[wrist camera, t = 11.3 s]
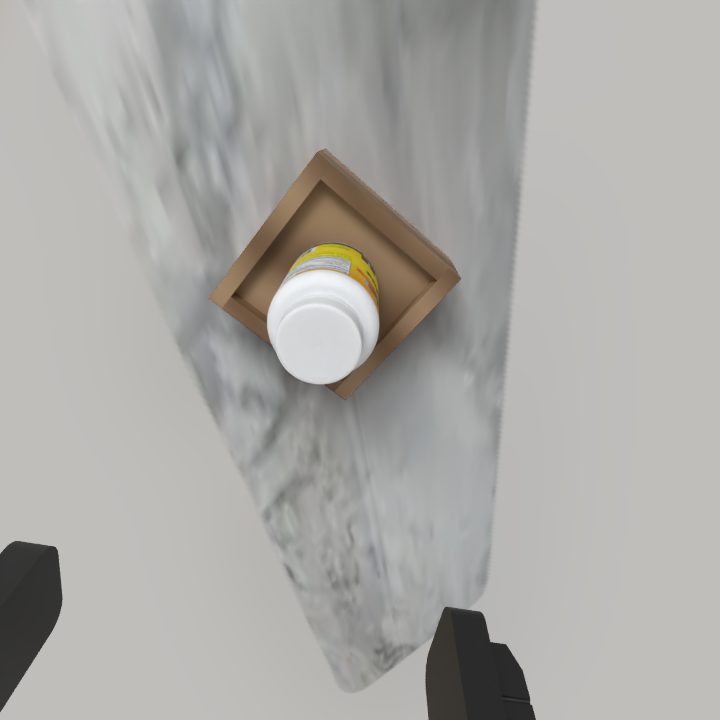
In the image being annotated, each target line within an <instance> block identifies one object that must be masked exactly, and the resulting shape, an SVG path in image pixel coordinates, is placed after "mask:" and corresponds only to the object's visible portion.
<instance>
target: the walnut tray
mask: <svg viewBox="0 0 720 720" xmlns="http://www.w3.org/2000/svg"><path fill="white" fill-rule="evenodd" d="M325 242H339V243H344V244H347V245H350V246H352V247H354V248H356V249H357V250H359V251H360V252H361V253H363V254H364V255H365V256H366V257H367V259H368V260H369V261H370V263H371V264H372V266H373V268H374V270H375V273H376V276H377V281H378V294H379V323H380V326H379V334H378V339H377V342H376V345H375V347H374V349H373V351H372V353H371V355H370V356H369V357H368V358H367V360H366V361H365V362H364V363H363V364H362V365H360V366H359V367H358V368H356V369H355V370H353V371H352V372H351V373H350V374H349V375H347V376H346V377H344V378H343V379H341V380H339V381H337V382H334V383H330V384H324V385H325V386H327V387H328V388H329V389H331V390H332V391H333V392H335V393H336V394H337V395H339V396H340V397H341V398H343V399H344V400H346V399H347V398H348V397H349V396H350V395H351V394H352V393H353V392H354V391H355V390H356V389H357V388H358V387H359V386H360V385H361V384H362V383H363V382H364V380H365V379H366V378H367V377H368V376H369V375H370V374H371V373H372V372H373V371H374V370H375V369H376V368H377V367H378V366H379V365H380V364H381V363H382V362H383V361H384V359H385V358H386V357H387V356H388V355H389V354H390V353H391V352H392V351H393V350H394V349H395V348H396V347H397V346H398V345H399V344H400V343H401V342H402V341H403V339H404V338H405V337H406V336H407V335H408V334H409V333H410V332H411V331H412V330H413V329H414V328H415V327H416V326H417V325H418V324H419V323H420V322H421V321H422V319H423V318H424V317H425V316H426V315H427V314H428V313H429V312H430V311H431V310H432V309H433V308H434V307H435V306H436V305H437V304H438V303H439V302H440V301H441V300H442V298H443V297H444V296H445V295H446V294H447V293H448V292H449V291H450V290H451V289H452V288H453V287H454V286H455V285H456V284H457V283H458V282H459V281H460V280H461V278H460V276H459V274H458V272H457V271H456V269H455V267H454V265H453V263H452V262H451V260H450V259H449V258H448V257H447V256H446V255H445V254H444V253H442V252H441V251H440V250H439V249H438V248H437V247H436V246H435V245H433V244H432V243H431V242H430V241H429V240H428V239H427V238H426V237H424V236H423V235H422V234H421V233H420V232H419V231H418V230H417V229H415V228H414V227H413V226H412V225H411V224H410V223H409V222H407V221H406V220H405V219H404V218H403V217H402V216H401V215H400V214H398V213H397V212H396V211H395V210H394V209H393V208H392V207H391V206H389V205H388V204H387V203H386V202H385V201H384V200H383V199H382V198H380V197H379V196H378V195H377V194H376V193H375V192H374V191H373V190H371V189H370V188H369V187H368V186H367V185H366V184H365V183H364V182H362V181H361V180H360V179H359V178H358V177H357V176H356V175H355V174H353V173H352V172H351V171H350V170H349V169H348V168H347V167H346V166H344V165H343V164H342V163H341V162H340V161H339V160H338V159H336V158H335V157H334V156H333V155H332V154H331V153H330V152H329V151H327V150H326V149H323V150H321V151H319V152H317V153H316V154H315V156H314V157H313V158H312V160H311V161H310V162H309V164H308V165H307V167H306V168H305V169H304V171H303V172H302V173H301V175H300V176H299V177H298V179H297V180H296V181H295V183H294V184H293V185H292V187H291V188H290V189H289V191H288V192H287V193H286V195H285V196H284V197H283V199H282V200H281V201H280V203H279V204H278V205H277V207H276V208H275V210H274V211H273V212H272V214H271V215H270V216H269V218H268V219H267V220H266V222H265V223H264V224H263V226H262V227H261V228H260V230H259V231H258V232H257V234H256V235H255V236H254V238H253V239H252V240H251V242H250V243H249V244H248V246H247V247H246V249H245V250H244V251H243V253H242V254H241V255H240V257H239V258H238V259H237V261H236V262H235V263H234V265H233V266H232V267H231V269H230V270H229V271H228V273H227V274H226V275H225V277H224V278H223V279H222V281H221V282H220V283H219V285H218V286H217V287H216V289H215V290H214V292H213V293H212V294H211V296H210V297H209V298H208V299H210V300H211V301H212V302H214V303H215V304H216V305H218V306H219V307H220V308H222V309H223V310H224V311H226V312H227V313H228V314H230V315H231V316H232V317H234V318H235V319H236V320H238V321H239V322H240V323H242V324H243V325H245V326H246V327H247V328H249V329H250V330H251V331H253V332H254V333H255V334H257V335H258V336H259V337H261V338H262V339H263V340H265V341H266V342H267V343H269V344H270V345H271V346H272V344H271V342H270V339H269V335H268V330H267V316H268V310H269V307H270V304H271V302H272V299H273V297H274V296H275V294H276V292H277V291H278V289H279V287H280V286H281V284H282V282H283V281H284V279H285V277H286V276H287V274H288V272H289V271H290V269H291V267H292V266H293V264H294V263H295V261H296V260H297V259H298V257H299V256H300V255H301V254H302V253H303V252H305V251H306V250H307V249H309V248H311V247H313V246H315V245H317V244H321V243H325Z"/></svg>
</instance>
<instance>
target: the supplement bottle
mask: <svg viewBox="0 0 720 720" xmlns="http://www.w3.org/2000/svg"><path fill="white" fill-rule="evenodd" d="M379 326H380V323H379V294H378V281H377V276H376V273H375V270H374V268H373V266H372V264H371V263H370V261H369V260H368V259H367V257H366V256H365V255H364V254H363V253H361V252H360V251H359V250H357V249H356V248H354V247H352V246H350V245H347V244H344V243H339V242H325V243H321V244H317V245H315V246H313V247H311V248H309V249H307V250H306V251H305V252H303V253H302V254H301V255H300V256H299V257H298V259H297V260H296V261H295V263H294V264H293V266H292V267H291V269H290V271H289V272H288V274H287V276H286V277H285V279H284V281H283V282H282V284H281V286H280V287H279V289H278V291H277V292H276V294H275V296H274V297H273V299H272V302H271V304H270V307H269V310H268V316H267V330H268V335H269V339H270V342H271V344H272V346H273V348H274V350H275V351H276V353H277V356H278V358H279V360H280V362H281V364H282V365H283V367H284V368H285V369H286V370H287V371H288V372H289V373H290V374H291V375H293V376H294V377H296V378H297V379H299V380H301V381H304V382H307V383H311V384H330V383H334V382H337V381H339V380H341V379H343V378H344V377H346V376H347V375H349V374H350V373H351V372H352V371H353V370H355V369H356V368H358V367H359V366H360V365H362V364H363V363H364V362H365V361H366V360H367V358H368V357H369V356H370V355H371V353H372V351H373V349H374V347H375V345H376V342H377V339H378V334H379Z"/></svg>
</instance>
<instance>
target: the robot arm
mask: <svg viewBox="0 0 720 720" xmlns="http://www.w3.org/2000/svg"><path fill="white" fill-rule="evenodd" d="M61 606H62V588H61V578H60V567H59V556H58V551H57V549H56V547H54V546H47V545H41V544H33V543H27V542H21V541H15V542H12V543H11V544H9V545H8V546H7V547H6V548H5V549H4V550H3V551H2V552H1V554H0V712H1V710H2V709H3V707H4V706H5V704H6V702H7V701H8V699H9V698H10V696H11V695H12V693H13V692H14V690H15V688H16V687H17V685H18V684H19V682H20V680H21V679H22V677H23V676H24V674H25V672H26V671H27V670H28V668H29V666H30V665H31V663H32V662H33V660H34V659H35V657H36V655H37V654H38V652H39V651H40V649H41V648H42V646H43V645H44V643H45V641H46V640H47V638H48V637H49V635H50V634H51V632H52V630H53V628H54V626H55V624H56V622H57V620H58V617H59V614H60V611H61ZM426 695H427V705H428V717H429V720H536V718H535V715H534V711H533V707H532V705H530V696H529V692H528V689H527V685H526V682H525V678H524V674H523V670H522V669H521V667H520V666H519V664H518V662H517V661H516V660H515V658H514V656H513V655H512V653H511V651H510V650H509V648H508V647H507V645H506V644H500V643H493V642H490V639H489V634H488V630H487V626H486V621H485V618H484V616H483V614H482V613H481V612H478V611H472V610H465V609H458V608H452V607H445V608H444V610H443V612H442V615H441V618H440V621H439V624H438V627H437V630H436V633H435V636H434V638H433V641H432V644H431V647H430V650H429V653H428V658H427V664H426Z"/></svg>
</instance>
